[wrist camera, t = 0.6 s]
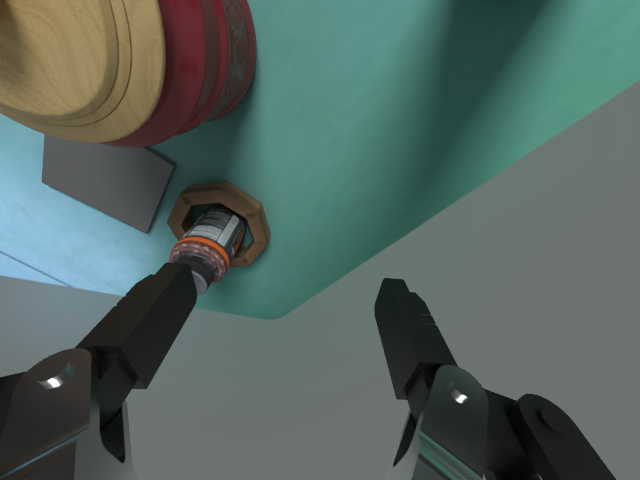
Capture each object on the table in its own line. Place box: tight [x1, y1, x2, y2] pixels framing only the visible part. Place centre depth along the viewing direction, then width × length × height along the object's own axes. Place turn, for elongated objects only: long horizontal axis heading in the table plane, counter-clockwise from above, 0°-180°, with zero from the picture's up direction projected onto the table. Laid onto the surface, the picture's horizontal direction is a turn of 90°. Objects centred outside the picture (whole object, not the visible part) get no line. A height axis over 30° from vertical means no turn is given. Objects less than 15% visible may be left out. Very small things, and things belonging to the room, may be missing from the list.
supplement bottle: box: [169, 206, 246, 296], centre depth 27 cm, size 6×6×11 cm
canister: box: [0, 0, 256, 148], centre depth 13 cm, size 13×13×18 cm
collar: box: [167, 181, 271, 267], centre depth 31 cm, size 12×12×2 cm
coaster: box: [42, 134, 176, 233], centre depth 27 cm, size 12×12×1 cm
